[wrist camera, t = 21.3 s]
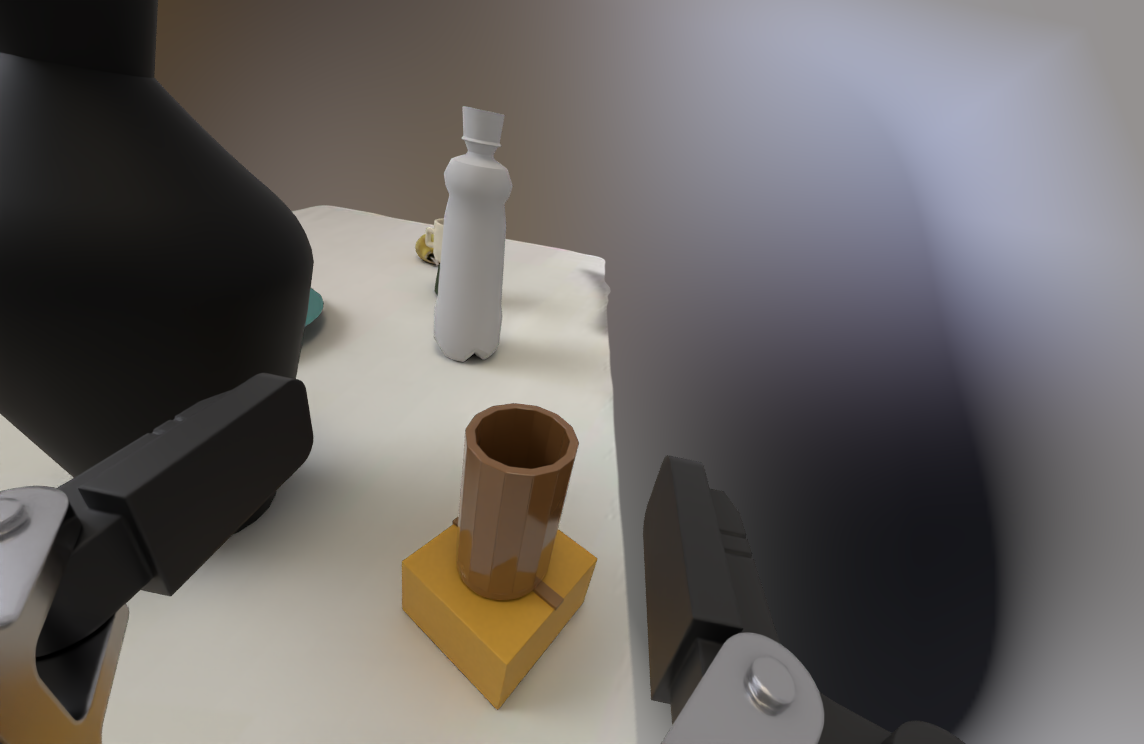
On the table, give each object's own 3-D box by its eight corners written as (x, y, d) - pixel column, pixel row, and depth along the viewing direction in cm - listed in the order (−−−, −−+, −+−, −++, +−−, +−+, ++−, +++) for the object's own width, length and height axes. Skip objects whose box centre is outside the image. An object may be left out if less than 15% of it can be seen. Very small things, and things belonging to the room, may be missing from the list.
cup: (567, 554, 29) (599, 438, 24) (504, 622, 24) (527, 494, 20) (503, 505, 32) (520, 392, 27) (434, 558, 27) (440, 431, 22)
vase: (363, 536, 33) (318, -81, 16) (16, 669, 23) (-1075, -654, 6) (311, 415, 44) (252, -33, 27) (60, 467, 34) (-286, -208, 17)
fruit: (422, 270, 88) (407, 248, 94) (449, 277, 92) (433, 256, 98) (433, 244, 86) (417, 224, 91) (459, 253, 90) (442, 233, 96)
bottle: (485, 334, 68) (506, 115, 53) (507, 362, 61) (538, 122, 47) (425, 337, 63) (431, 99, 48) (443, 369, 56) (455, 104, 42)
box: (584, 603, 32) (600, 556, 29) (498, 712, 25) (508, 664, 23) (495, 531, 36) (502, 484, 33) (401, 608, 29) (400, 557, 27)
